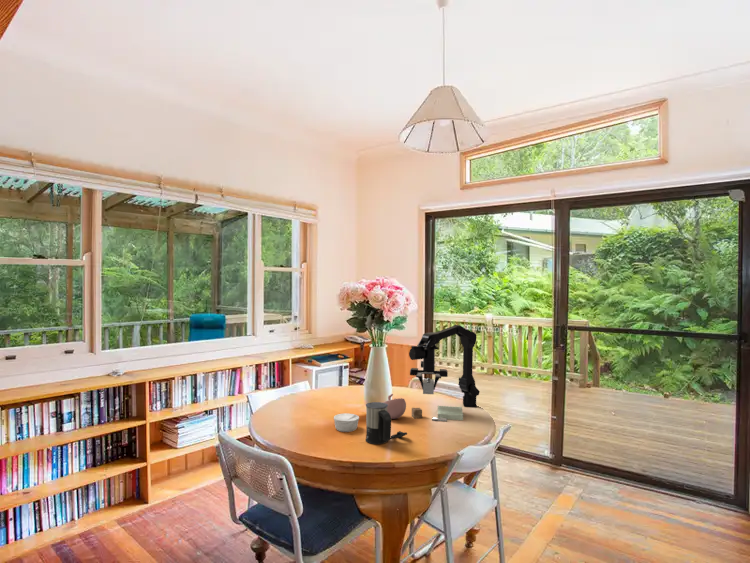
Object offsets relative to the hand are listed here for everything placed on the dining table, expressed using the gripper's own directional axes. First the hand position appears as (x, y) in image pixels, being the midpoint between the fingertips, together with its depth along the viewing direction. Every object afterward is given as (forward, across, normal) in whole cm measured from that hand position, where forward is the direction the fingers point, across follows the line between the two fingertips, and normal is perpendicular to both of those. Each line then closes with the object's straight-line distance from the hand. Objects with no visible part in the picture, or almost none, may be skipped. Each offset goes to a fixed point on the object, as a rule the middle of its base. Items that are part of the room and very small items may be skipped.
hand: (428, 389), depth 225 cm
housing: (+1, 0, 0) cm, 1 cm away
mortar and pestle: (+12, +16, +14) cm, 24 cm away
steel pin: (+12, -6, +13) cm, 18 cm away
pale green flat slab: (+11, -11, +4) cm, 16 cm away
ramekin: (+12, +35, +33) cm, 50 cm away
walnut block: (+11, +5, +10) cm, 16 cm away
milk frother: (+12, +16, +44) cm, 48 cm away
